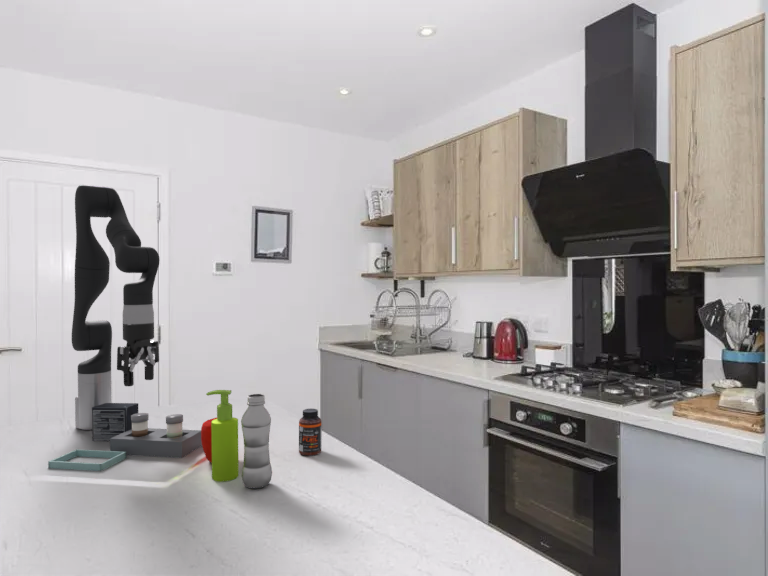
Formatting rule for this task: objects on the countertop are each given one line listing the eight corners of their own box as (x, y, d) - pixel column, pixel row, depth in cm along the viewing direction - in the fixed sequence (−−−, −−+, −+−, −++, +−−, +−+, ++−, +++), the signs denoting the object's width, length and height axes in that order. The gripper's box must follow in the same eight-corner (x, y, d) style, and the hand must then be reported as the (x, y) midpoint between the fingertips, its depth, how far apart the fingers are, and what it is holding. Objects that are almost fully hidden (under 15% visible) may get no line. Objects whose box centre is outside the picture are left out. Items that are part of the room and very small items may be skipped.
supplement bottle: (300, 457, 131) (300, 413, 131) (297, 450, 137) (296, 408, 137) (323, 455, 133) (323, 411, 133) (319, 448, 139) (318, 406, 139)
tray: (48, 471, 122) (48, 461, 122) (76, 459, 131) (76, 449, 131) (101, 475, 120) (101, 464, 120) (126, 461, 129) (126, 451, 129)
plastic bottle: (277, 482, 115) (277, 393, 115) (261, 493, 109) (260, 399, 109) (253, 478, 117) (252, 391, 117) (235, 490, 111) (234, 397, 111)
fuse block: (110, 457, 132) (109, 419, 132) (135, 445, 142) (134, 409, 142) (182, 461, 129) (181, 422, 129) (202, 448, 139) (201, 412, 139)
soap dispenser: (210, 472, 121) (210, 388, 121) (240, 471, 122) (239, 387, 122) (204, 482, 115) (203, 393, 115) (235, 481, 116) (234, 392, 116)
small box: (140, 438, 149) (139, 402, 149) (126, 445, 142) (126, 407, 142) (106, 437, 150) (105, 401, 150) (91, 444, 143) (90, 407, 143)
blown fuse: (127, 450, 134) (127, 416, 134) (137, 445, 139) (137, 412, 139) (142, 451, 134) (142, 417, 134) (152, 446, 138) (151, 413, 138)
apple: (233, 466, 125) (232, 422, 125) (196, 467, 125) (196, 423, 125) (240, 454, 134) (240, 413, 134) (206, 455, 134) (206, 414, 133)
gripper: (142, 319, 144) (143, 377, 144) (107, 323, 129) (107, 388, 130) (167, 319, 142) (167, 378, 142) (134, 323, 128) (134, 388, 128)
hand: (139, 382), depth 136 cm, fingers open, 8 cm apart
